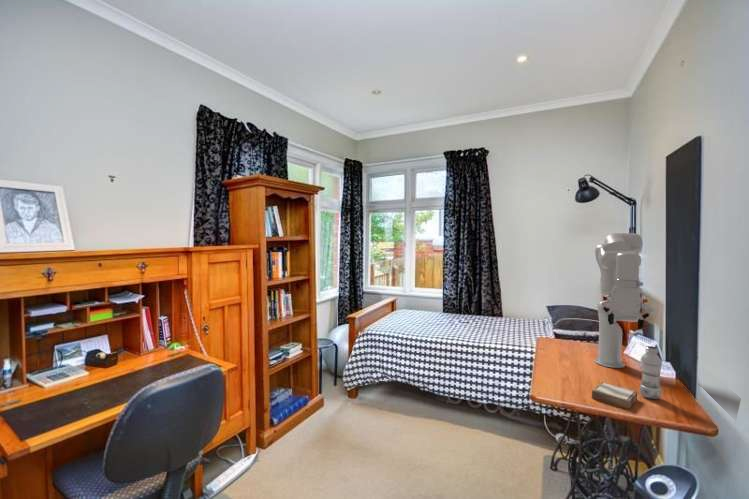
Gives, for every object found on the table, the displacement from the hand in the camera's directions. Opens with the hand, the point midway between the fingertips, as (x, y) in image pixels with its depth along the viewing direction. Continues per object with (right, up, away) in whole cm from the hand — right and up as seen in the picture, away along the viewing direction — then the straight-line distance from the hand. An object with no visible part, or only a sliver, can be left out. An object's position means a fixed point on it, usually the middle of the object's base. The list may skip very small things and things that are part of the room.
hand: (625, 326), depth 140 cm
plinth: (-6, -28, -2) cm, 29 cm away
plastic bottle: (+9, -28, -1) cm, 30 cm away
